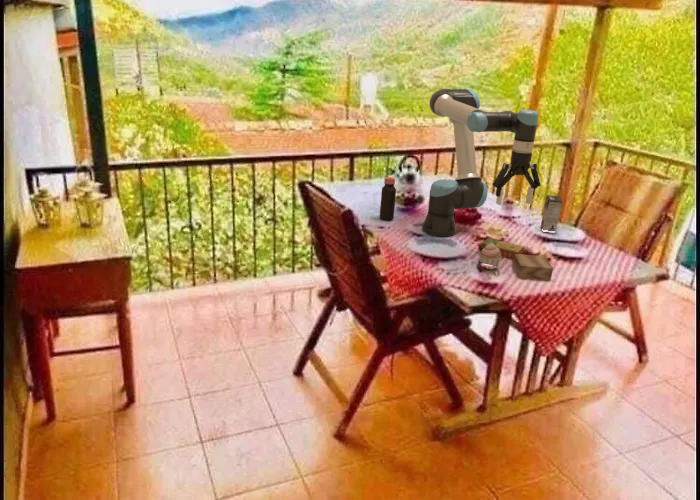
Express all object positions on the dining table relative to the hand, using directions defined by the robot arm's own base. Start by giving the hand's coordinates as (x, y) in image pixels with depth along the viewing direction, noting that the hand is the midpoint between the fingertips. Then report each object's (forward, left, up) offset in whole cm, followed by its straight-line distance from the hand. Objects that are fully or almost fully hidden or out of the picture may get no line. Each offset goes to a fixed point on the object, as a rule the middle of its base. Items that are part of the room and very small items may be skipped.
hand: (513, 203), depth 227 cm
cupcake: (-9, -13, -23) cm, 28 cm away
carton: (-1, +3, -23) cm, 23 cm away
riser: (+7, -16, -23) cm, 29 cm away
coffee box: (+27, +37, -23) cm, 51 cm away
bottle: (-50, +36, -23) cm, 66 cm away
